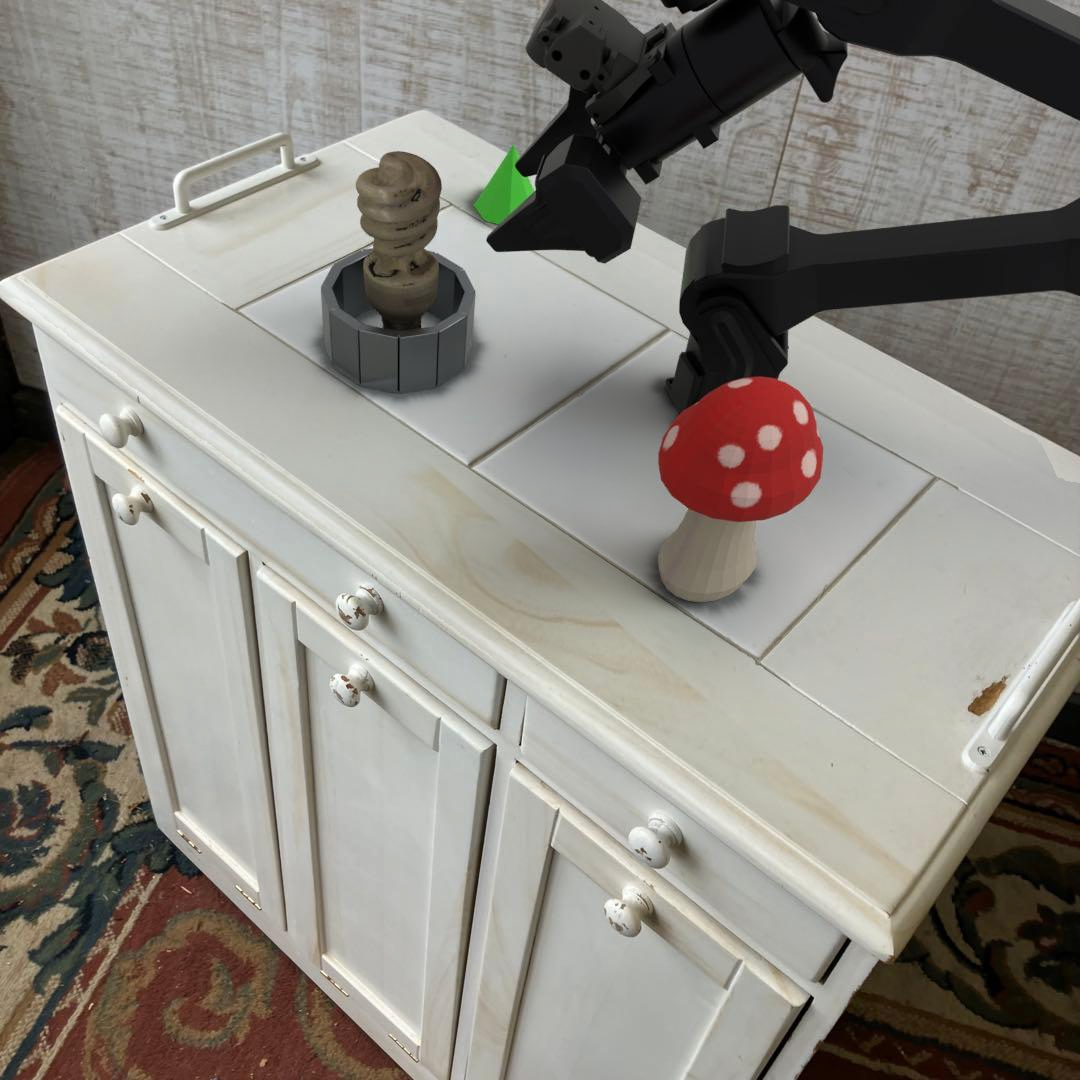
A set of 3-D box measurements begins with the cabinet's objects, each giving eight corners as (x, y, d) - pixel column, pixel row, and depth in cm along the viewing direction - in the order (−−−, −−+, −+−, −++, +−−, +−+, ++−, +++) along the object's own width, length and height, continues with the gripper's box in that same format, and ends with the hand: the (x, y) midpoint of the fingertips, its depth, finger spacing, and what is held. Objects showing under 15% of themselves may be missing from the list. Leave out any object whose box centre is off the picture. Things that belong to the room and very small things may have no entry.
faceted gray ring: (447, 293, 86) (449, 238, 82) (488, 380, 79) (493, 325, 76) (312, 311, 83) (308, 255, 79) (344, 402, 76) (341, 346, 72)
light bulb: (400, 379, 78) (400, 193, 67) (345, 345, 80) (336, 158, 69) (451, 344, 82) (460, 161, 70) (397, 312, 83) (397, 128, 72)
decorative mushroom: (719, 500, 74) (777, 320, 62) (805, 586, 69) (885, 410, 58) (601, 554, 69) (640, 373, 58) (686, 650, 65) (746, 474, 54)
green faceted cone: (543, 229, 93) (551, 165, 88) (473, 225, 92) (477, 160, 88) (541, 191, 97) (548, 128, 92) (473, 186, 96) (477, 123, 92)
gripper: (647, -111, 64) (456, 42, 73) (603, 18, 52) (380, 184, 61) (746, 46, 70) (558, 170, 79) (728, 196, 57) (507, 325, 66)
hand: (505, 206), depth 71 cm, fingers open, 9 cm apart
